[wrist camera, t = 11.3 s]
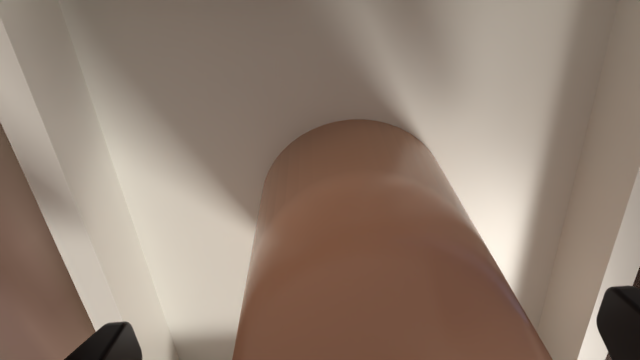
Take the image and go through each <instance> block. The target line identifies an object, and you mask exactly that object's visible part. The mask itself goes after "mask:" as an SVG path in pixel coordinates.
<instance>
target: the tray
mask: <svg viewBox="0 0 640 360" xmlns="http://www.w3.org/2000/svg"><path fill="white" fill-rule="evenodd" d="M350 119H365V120H374V121H379V122H384V123H388V124H391V125H393V126H396V127H399V128H401V129H403V130H405V131H406V132H408V133H410V134H412V135H413V136H414V137H416V138H417V139H418V140H420V141H421V142H422V143H423V144H424V145H425V146H426V147H427V148H428V149H429V150H430V152H431V153H432V154H433V156H434V157H435V159H436V160H437V162H438V164H439V165H440V167H441V169H442V171H443V172H444V174H445V176H446V177H447V179H448V181H449V183H450V184H451V186H452V188H453V189H454V191H455V193H456V195H457V196H458V198H459V200H460V201H461V203H462V205H463V207H464V208H465V210H466V212H467V213H468V215H469V217H470V219H471V220H472V222H473V224H474V225H475V227H476V229H477V231H478V232H479V234H480V236H481V237H482V239H483V241H484V243H485V244H486V246H487V248H488V249H489V251H490V253H491V255H492V256H493V258H494V260H495V261H496V263H497V265H498V267H499V268H500V270H501V272H502V273H503V275H504V277H505V279H506V280H507V282H508V284H509V285H510V287H511V289H512V291H513V292H514V294H515V296H516V297H517V299H518V301H519V303H520V304H521V306H522V308H523V309H524V311H525V313H526V315H527V316H528V318H529V320H530V321H531V323H532V325H533V327H534V328H535V330H536V332H537V333H538V335H539V337H540V339H541V340H542V342H543V344H544V345H545V347H546V349H547V351H548V352H549V354H550V356H551V357H552V359H553V360H605V359H606V356H607V353H608V350H607V348H606V346H605V344H604V342H603V340H602V338H601V335H600V333H599V331H598V328H597V323H596V318H597V314H598V311H599V308H600V305H601V302H602V299H603V296H604V293H605V291H606V290H607V289H608V288H609V287H613V286H628V285H629V286H633V283H634V280H635V278H636V275H637V272H638V270H639V267H640V0H0V122H1V124H2V127H3V129H4V131H5V133H6V135H7V138H8V140H9V142H10V144H11V146H12V149H13V151H14V153H15V155H16V157H17V159H18V162H19V164H20V166H21V168H22V170H23V173H24V175H25V177H26V179H27V181H28V184H29V186H30V188H31V190H32V192H33V195H34V197H35V199H36V201H37V203H38V206H39V208H40V210H41V212H42V214H43V217H44V219H45V221H46V223H47V225H48V228H49V230H50V232H51V234H52V236H53V239H54V241H55V243H56V245H57V247H58V250H59V252H60V254H61V256H62V258H63V261H64V263H65V265H66V267H67V269H68V272H69V274H70V276H71V278H72V280H73V283H74V285H75V287H76V289H77V291H78V294H79V296H80V298H81V300H82V302H83V305H84V307H85V309H86V311H87V313H88V316H89V318H90V320H91V322H92V324H93V327H94V329H95V331H97V330H98V329H100V328H101V327H102V326H103V325H105V324H106V323H110V322H123V321H126V322H129V323H130V324H131V325H132V327H133V330H134V332H135V335H136V337H137V340H138V342H139V345H140V347H141V350H142V360H232V358H233V352H234V347H235V341H236V336H237V330H238V324H239V319H240V313H241V307H242V302H243V296H244V290H245V285H246V279H247V274H248V268H249V262H250V257H251V251H252V245H253V240H254V234H255V228H256V223H257V217H258V211H259V206H260V200H261V195H262V190H263V185H264V181H265V179H266V176H267V173H268V171H269V169H270V168H271V166H272V164H273V162H274V161H275V160H276V158H277V157H278V156H279V154H280V153H281V152H282V151H283V150H284V149H285V148H286V147H287V146H288V145H289V144H290V143H292V142H293V141H294V140H296V139H297V138H298V137H300V136H301V135H303V134H305V133H307V132H308V131H310V130H312V129H315V128H317V127H320V126H322V125H325V124H329V123H332V122H336V121H343V120H350Z"/></svg>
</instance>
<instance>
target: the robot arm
mask: <svg viewBox="0 0 640 360" xmlns="http://www.w3.org/2000/svg"><path fill="white" fill-rule="evenodd" d="M596 323H597V328H598V331H599V333H600V335H601V338H602V340H603V342H604V344H605V346H606V348H607V350H608V352H609V354H610V356H611V358H612V360H640V289H638V288H636V287H634V286H629V285H628V286H613V287H609V288H608V289H607V290H606V291H605V293H604V296H603V299H602V302H601V305H600V308H599V311H598V314H597V318H596ZM64 360H142V350H141V347H140V345H139V342H138V340H137V337H136V335H135V332H134V330H133V327H132V325H131V324H130V323H129V322H126V321H123V322H110V323H106V324H105V325H103V326H102V327H101V328H100V329H98V330H97V331H96V332H95V333H94V334H93V335H92V336H91V337H89V338H88V339H87V340H86V341H85V342H84V343H83V344H81V345H80V346H79V347H78V348H77V349H76V350H75V351H73V352H72V353H71V354H70V355H69V356H68V357H67V358H65V359H64Z"/></svg>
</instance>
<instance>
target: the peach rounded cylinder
mask: <svg viewBox="0 0 640 360" xmlns="http://www.w3.org/2000/svg"><path fill="white" fill-rule="evenodd" d="M232 360H553V359H552V357H551V356H550V354H549V352H548V351H547V349H546V347H545V345H544V344H543V342H542V340H541V339H540V337H539V335H538V333H537V332H536V330H535V328H534V327H533V325H532V323H531V321H530V320H529V318H528V316H527V315H526V313H525V311H524V309H523V308H522V306H521V304H520V303H519V301H518V299H517V297H516V296H515V294H514V292H513V291H512V289H511V287H510V285H509V284H508V282H507V280H506V279H505V277H504V275H503V273H502V272H501V270H500V268H499V267H498V265H497V263H496V261H495V260H494V258H493V256H492V255H491V253H490V251H489V249H488V248H487V246H486V244H485V243H484V241H483V239H482V237H481V236H480V234H479V232H478V231H477V229H476V227H475V225H474V224H473V222H472V220H471V219H470V217H469V215H468V213H467V212H466V210H465V208H464V207H463V205H462V203H461V201H460V200H459V198H458V196H457V195H456V193H455V191H454V189H453V188H452V186H451V184H450V183H449V181H448V179H447V177H446V176H445V174H444V172H443V171H442V169H441V167H440V165H439V164H438V162H437V160H436V159H435V157H434V156H433V154H432V153H431V152H430V150H429V149H428V148H427V147H426V146H425V145H424V144H423V143H422V142H421V141H420V140H418V139H417V138H416V137H414V136H413V135H412V134H410V133H408V132H406V131H405V130H403V129H401V128H399V127H396V126H393V125H391V124H388V123H384V122H379V121H374V120H365V119H350V120H343V121H336V122H332V123H329V124H325V125H322V126H320V127H317V128H315V129H312V130H310V131H308V132H307V133H305V134H303V135H301V136H300V137H298V138H297V139H296V140H294V141H293V142H292V143H290V144H289V145H288V146H287V147H286V148H285V149H284V150H283V151H282V152H281V153H280V154H279V156H278V157H277V158H276V160H275V161H274V162H273V164H272V166H271V168H270V169H269V171H268V173H267V176H266V179H265V181H264V185H263V190H262V195H261V200H260V206H259V211H258V217H257V223H256V228H255V234H254V240H253V245H252V251H251V257H250V262H249V268H248V274H247V279H246V285H245V290H244V296H243V302H242V307H241V313H240V319H239V324H238V330H237V336H236V341H235V347H234V352H233V358H232Z"/></svg>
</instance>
